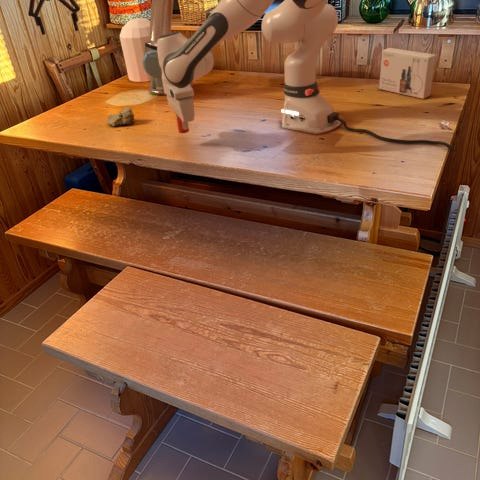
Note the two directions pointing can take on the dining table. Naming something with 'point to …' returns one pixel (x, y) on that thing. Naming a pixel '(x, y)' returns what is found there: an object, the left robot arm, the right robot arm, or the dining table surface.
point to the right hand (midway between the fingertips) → (183, 126)
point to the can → (181, 126)
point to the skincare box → (407, 72)
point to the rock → (121, 118)
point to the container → (135, 48)
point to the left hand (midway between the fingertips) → (60, 32)
